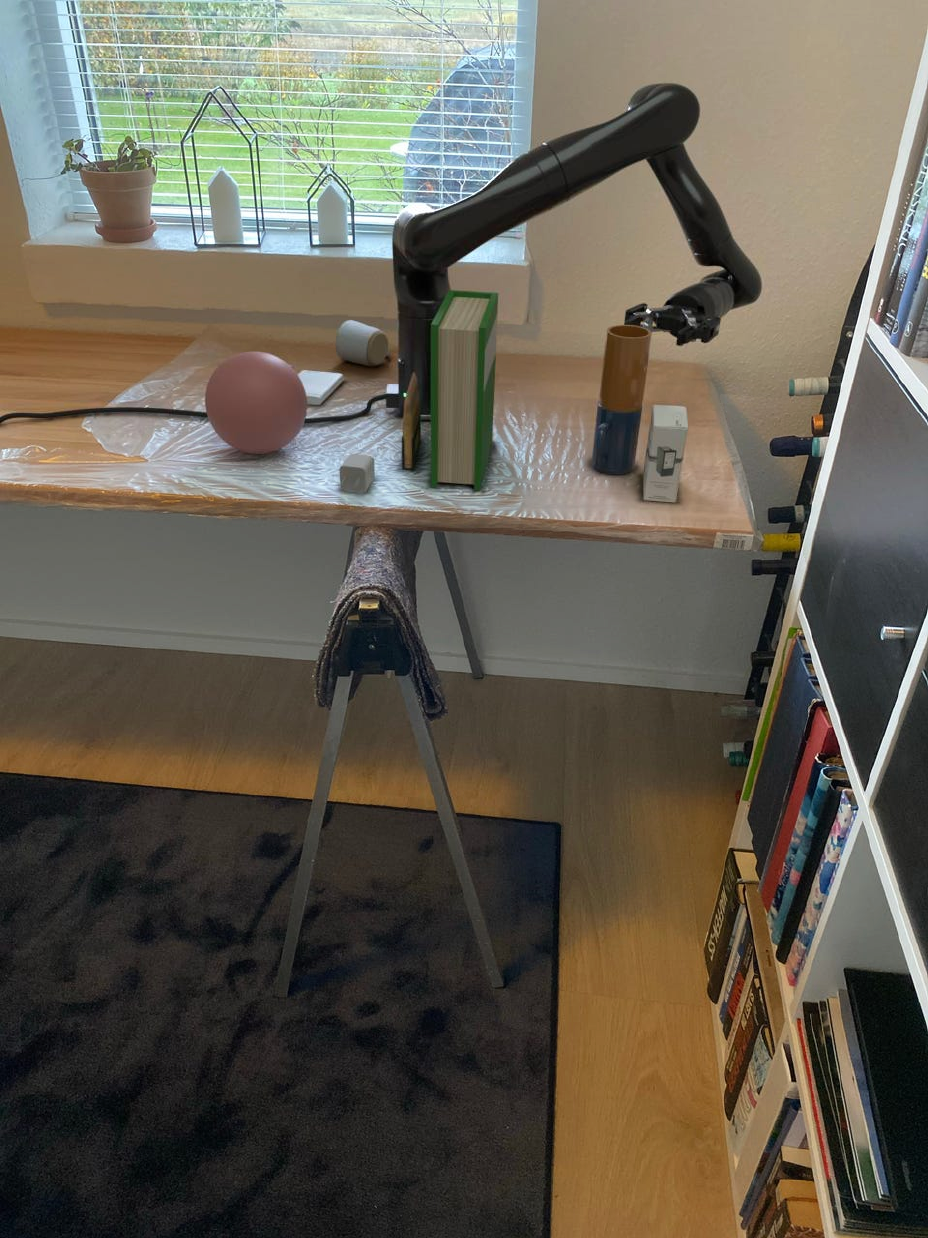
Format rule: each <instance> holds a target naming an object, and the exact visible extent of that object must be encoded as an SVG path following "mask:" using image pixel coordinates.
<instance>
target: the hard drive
mask: <svg viewBox="0 0 928 1238" xmlns="http://www.w3.org/2000/svg"><path fill="white" fill-rule="evenodd" d="M297 375H298V376H299V378H300V380H301V381H302V383H303V386H304V389H305V392H306V397H307V405H313V406H320V405H322V403H323V402H324V401H325V400H326V399H327V398H328V397H329V396H330V395H331V394H332V393H333V392H335V391H336V389H337V388H338V387H339V386H340V385H341V384H342V383H343V382H344V375H343V374H342V373H339V372H330V371H329V372H328V371H317V370H309V369H308V370H307V369H303V370H301V371H300V372H299V373H297Z"/></svg>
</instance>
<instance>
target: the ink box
mask: <svg viewBox="0 0 928 1238" xmlns="http://www.w3.org/2000/svg"><path fill="white" fill-rule="evenodd" d="M648 429H649V430H648V437H647V443H646V450H645V456H644V461H643V462H644V463H643V470H642V490H643V491H642V492H643V493H642V494H643V500H644V501H651V502H663V503H673V504H675V503H676V502H677V498H678V490H679V486H680V479H681V473H682V466H683V460H684V454H685V448H686V443H687V436H688V431H689V421H688V412H687V407H686V406H682V405H665V404H653V405H652V410H651V416H650V422H649V428H648Z"/></svg>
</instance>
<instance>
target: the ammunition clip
mask: <svg viewBox="0 0 928 1238" xmlns="http://www.w3.org/2000/svg"><path fill="white" fill-rule="evenodd" d="M402 417H403V418H402V437H401V470H403V471H404V470H407V471H415V468H416V465H417V461H418V456H419V452H420V448H421V444H422V425H421V424H422V420H421V414H420V402H419V395H418V381H417V377H416V374H415V372H414V373H413V375H412V378H411V381H410V384H409V387H408V391H407V394H406V397H405V402H404V416H402Z"/></svg>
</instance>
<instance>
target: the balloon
mask: <svg viewBox="0 0 928 1238" xmlns="http://www.w3.org/2000/svg"><path fill="white" fill-rule="evenodd" d="M204 407H205V412H207V416H208V421H209V423H210V425H211V427H212V429H213V431H214V432H215V433H216V434H217V436H218V437H219V438H220V439H221V440H222V441H223V442H225V443H226V444H227V445H229V446H230V447H232V448H234V449H236V450H238V451H240V452H243V453H247V454H254V455H263V454H264V455H265V454H269V453H270V454H271V453H274V452H277V451H279V450H282V449H283V448H285V447H286V446H288V445H289V444H290V443H291V442H293V440H294V439H296V437H297V436H298V435H299V433H300V432H301V431H302V428H303V427H304V425H305V424H304V421H305V418H307V413H308V404H307V397H306V392H305V389H304V386H303V383H302V381H301V380H300V378H299V376H298V373H297V371H295V367H294V366H293V365H292V364H288V362H286V361H285V360H283V359H282V358H280V357H278V356H276V355H273V354H271V353H268V352H263V351H244V352H239V353H237V354H234V355H232V356H230V357H228V358H226V359H225V360H223V362H221V363H220V364H219V365H218V366H217V367H216V369H215V370H214V371H213V373H212V374H211V375H210V378H209V380H208V382H207V384H206V389H205V396H204Z"/></svg>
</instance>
